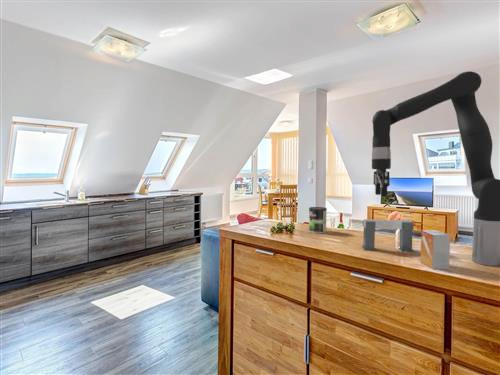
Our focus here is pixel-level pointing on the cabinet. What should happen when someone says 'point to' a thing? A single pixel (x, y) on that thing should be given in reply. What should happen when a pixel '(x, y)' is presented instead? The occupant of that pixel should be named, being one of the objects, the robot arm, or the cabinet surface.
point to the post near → (406, 237)
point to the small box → (435, 249)
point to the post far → (369, 236)
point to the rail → (387, 223)
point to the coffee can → (317, 219)
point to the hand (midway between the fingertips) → (381, 195)
